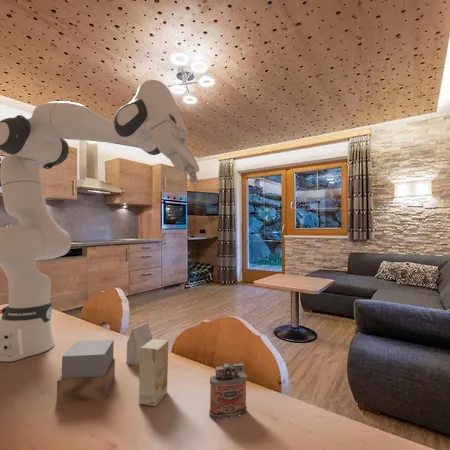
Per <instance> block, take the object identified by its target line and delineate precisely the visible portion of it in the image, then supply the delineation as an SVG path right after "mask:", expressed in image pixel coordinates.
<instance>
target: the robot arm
mask: <svg viewBox="0 0 450 450" xmlns="http://www.w3.org/2000/svg"><path fill="white" fill-rule="evenodd" d="M188 138H189V132H188V129H187V127H186V124H185V122H184V120H183V117H182V116H181V114H180V113H179V111H178V105H177V103H176V101H175V98H174V96H173V94H172V92H171V91H170V89H169V88H168V87H167V85H166V84H165V83H163V82H161V81H160V80H157V79H147V80H144V81H143V82H141V84H139V86H138V88H137V91H136V94H135V96H134V97H133V98H132V99H131V101H129V102H128V103H126V104H125V105H122V106H121V107H119V109H118V110H117V111H116V113H115V115H114V119H113V121H111V120H109V119H107V118H105V117H104V116H102V115H100V114H99V113H97V112H95V111H94V110H92V109H91V108H89V107H87V106H85V105H83V104H80V103H77V102H76V103H75V102H73V101H72V102H71V101H51V102H50V101H49V102H45V103H41V104H38V105H37V106H36V107H35V108H34V109H33V111H32V114H31V116H30V117H29V118H26V117H25V116H24V115H22V114H18V115H16V116H15V117H7V118H6V117H5V118H4V119H1V120H0V151H1V152H3V153H6V154H8V155H6V156H4V157H3V158H2V160H1V161H0V188H1V194H2V200H3V206H4V209H5V211H6V213H7V214H8V215H9V216H11V217H12V218H14V219H16V220H17V221H19V223H20V224H21V226H16V225H14V226H13V225H12V226H5V227H0V268H1V269H2V271H3V272H4V274H5V277H6V279H7V285H8V287H7V289H8V305H6V306H4V307H3V308H1V309H0V315H1V314H2V315H1V318H0V362H7V363H8V362H9V363H10V362H15V361H19V360H22V359H24V358H27V357H31V356H36V355H39V354H41V353H44V352H47V351H49V350H50V349H52V348H53V347H54V346H55V344H56V343H55V340H54V336H53V333H52V324H51V319H52V313H53V309H52V308H53V305H52V301H51V291H52V290H51V289H52V288H51V286H52V284H51V283H52V281H51V277H50V276H48V275H47V274H45V273H44V272H41V271H40V270H39V268H38V265H37V261H42V260H43V261H44V260H52V259H56V258H60V257H63V256H65V255H66V254H67V253H69V251H70V250H71V247H72V238H71V236H70V234H69V232H68V231H66V230H65V229H64V228H62V227H61V226H60V225H59V224H58V223H57V222H56V221H55V220H54V217H53V216H52V215H51V213H50V211H49V208H48V206H47V203H46V199H45V195H44V190H43V189H44V188H43V184H42V179H41V174H40V173H41V169H42V168H43V169H46V170H50V169H52V168H54V167H55V166H58V165H60V164H62V163H63V162H65V160H67V158H68V156H69V153H70V152H69V151H70V149H69V148H70V147H69V144H68V141H66V140H71V141H73V140H75V141H85V142H86V141H89V142H99V143H101V142H102V143H108V144H113V145H114V144H115V145H121V146H127V147H133V148H134V147H135V148H138V149H141V150H143V151H144V152H145V153H146V154H148V155H150V156H157V155H159V154H163V156H165V157H166V158H167V159H169V161H170V162H171V164H172V165H173V167H174V168H175V171H176V173H178V175H182V174H184V173H186V174H187V175H188V177H189V181H190V183H191V184H192V185H197V184H198V183H199V179H198V177H197V173H198V172H200V167H199V163H198V162H197V160H196V158H195V156H194V154H193V152H192V150H191V148H190V147H189V146H188V145H187V144H186V143H187V139H188Z"/></svg>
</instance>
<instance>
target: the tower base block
mask: <svg viewBox="0 0 450 450" xmlns="http://www.w3.org/2000/svg"><path fill="white" fill-rule="evenodd" d="M115 373H116V358H115V357H113V360H112V362H111V364H110V366H109V368H108V370H107V372H106V373H105V375H104V376H103V377H87V378H70V379H62V375H61V376H60V377H59V378H58V379H57V380H56V383H57V384H56V403H69V402H70V403H71V402H72V403H73V402H83V401H84V402H85V401H98V400H105V399H106V396H107V394H108V392H109V390H110V387H111V386H112V384H113V381H114V379H115V376H116V375H115Z"/></svg>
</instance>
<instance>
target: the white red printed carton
mask: <svg viewBox="0 0 450 450" xmlns="http://www.w3.org/2000/svg"><path fill="white" fill-rule="evenodd" d="M152 339H153V334H152V332H151V328H150V326H149V323H148V322H145V323H142V324H140V325H138V326H135V327H133V328H131V331H130V334H129V337H128V339H127V341H126V364H128V365H133V366H140V352H141V347H143V346H144V345H145V344H146V343H148V342H149V341H150V340H152Z"/></svg>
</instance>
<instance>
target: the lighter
mask: <svg viewBox="0 0 450 450" xmlns="http://www.w3.org/2000/svg"><path fill="white" fill-rule="evenodd" d="M244 366H245V365H244V364H243V363H241V362H240V363H233V364H231V365H230V364H229V363H224V364H223V365H222V366H216V367H215V375H212V376H210V378H209V385H210V396H209V397H210V398H209V399H210V400H209V401H210V402H209V403H210V404H209V411H208V413H209V414H208V415H209V418H210V419H211V420H224V419H223V418H228V419H232V418H231V417H234V418H236V417H235V416H238V417H240V416H239V415H241V416H243V414H244V415H246V414H247V412H248V411H247V410H248V409H247V381H248V375H247V374H246V373H244V371H245V369H244V368H245V367H244Z"/></svg>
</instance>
